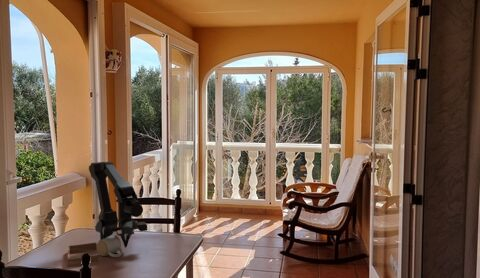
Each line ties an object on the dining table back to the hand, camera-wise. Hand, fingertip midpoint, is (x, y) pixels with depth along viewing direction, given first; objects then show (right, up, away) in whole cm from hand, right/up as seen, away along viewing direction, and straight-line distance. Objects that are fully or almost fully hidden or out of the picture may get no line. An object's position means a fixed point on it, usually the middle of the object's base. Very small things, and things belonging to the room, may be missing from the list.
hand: (125, 247), depth 173 cm
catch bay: (-16, -2, -7) cm, 18 cm away
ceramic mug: (-5, -2, -3) cm, 7 cm away
